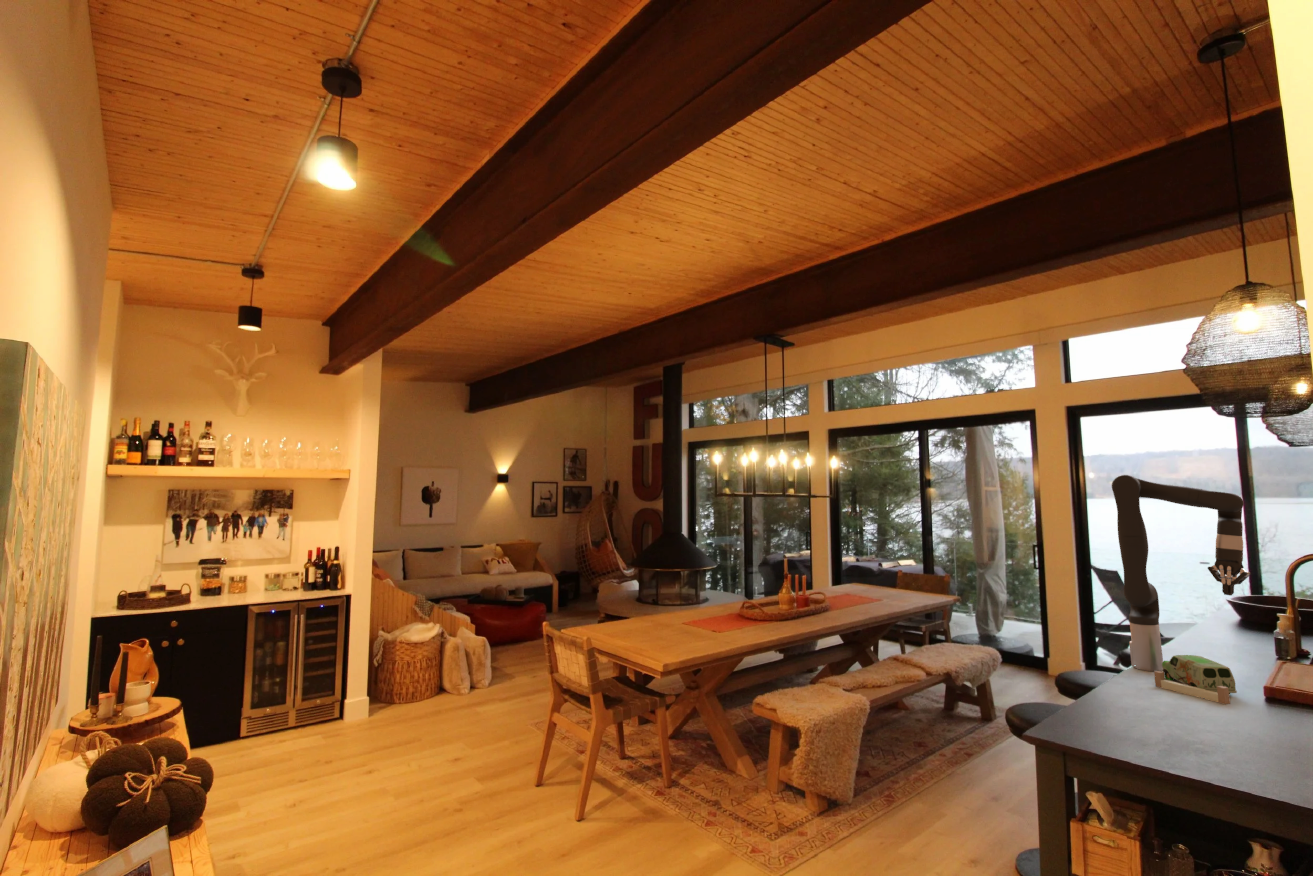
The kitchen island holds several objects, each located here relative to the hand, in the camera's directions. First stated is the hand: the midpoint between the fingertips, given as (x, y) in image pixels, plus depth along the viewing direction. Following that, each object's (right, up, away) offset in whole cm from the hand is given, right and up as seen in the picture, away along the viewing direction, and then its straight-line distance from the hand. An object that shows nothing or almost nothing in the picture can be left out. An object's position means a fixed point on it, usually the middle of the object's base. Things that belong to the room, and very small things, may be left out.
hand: (1228, 594), depth 235 cm
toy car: (-19, -30, -10) cm, 37 cm away
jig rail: (-29, -29, -18) cm, 45 cm away
